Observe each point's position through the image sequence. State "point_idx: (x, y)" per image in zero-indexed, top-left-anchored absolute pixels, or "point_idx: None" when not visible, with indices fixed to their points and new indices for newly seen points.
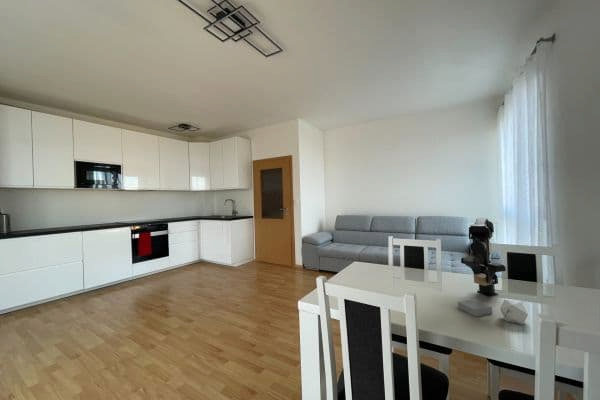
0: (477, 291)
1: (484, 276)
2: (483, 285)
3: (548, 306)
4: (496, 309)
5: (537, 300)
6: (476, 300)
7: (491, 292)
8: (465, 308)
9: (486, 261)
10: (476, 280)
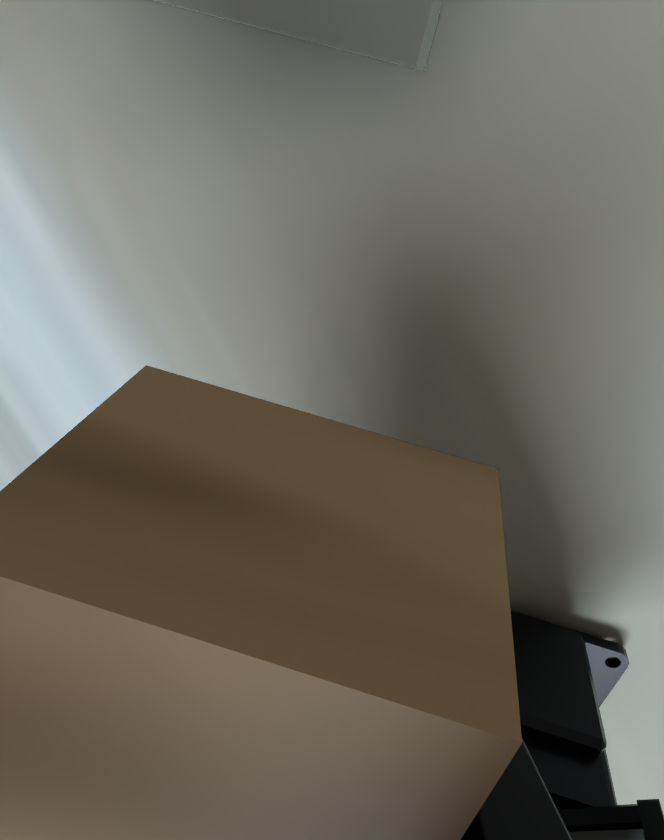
0: (618, 650)
1: (44, 729)
2: (150, 369)
3: None
4: (142, 214)
5: None
6: (325, 24)
7: None
8: None
9: None
10: (389, 502)
